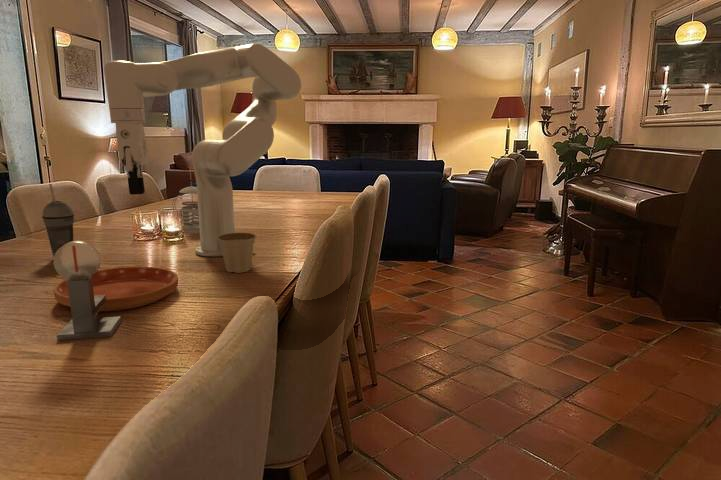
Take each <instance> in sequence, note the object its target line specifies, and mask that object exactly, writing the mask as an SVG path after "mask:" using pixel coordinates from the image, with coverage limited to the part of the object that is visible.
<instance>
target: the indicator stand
mask: <svg viewBox="0 0 721 480" xmlns="http://www.w3.org/2000/svg"><path fill="white" fill-rule="evenodd" d="M52 263H53V267H54V269H55V271H56V273H57V274H58V275H60V277H62V278H63V279H64V280H66V279H67V280H68V281H67V283H68V291H69V298H70V306H71V307H70V310H71V311H70V312H71V313H70V314H71V319H70V320H69V322H68V323H66V325H65V326H64V327H63V328H62V329H61V330H60V331H59V332H57V334H56V340H57V342H59V341H58V340H63V341H74V340H86V339H87V340H88V339H100V338H111V337H112V336H113V335H114V333H115V332H116V330H117V329H118V328H119V326H120V324H121V322H122V316H120V315H119V316H118V315H117V316H105V317H97V315H96V312H97V311H98V309H99V308H100V307H101V306H102V305H103V304H104V302H105V301H106V295H96V296H94V291H93V283H92V277H91V276H93V275H94V274H95V273H96V272H97V271H98V270H100V266H101V263H102V261H101V255H100V253H99V251H98V249H97V248H96V247H95V246H94V245H92V244H90V243H89V242H87V241H83V240H74V241H72V242H69V243H67V244H65V245H63V246H62V247H60V248H59V249H58V250H57V251H56V253H55V255H54V257H53V261H52Z"/></svg>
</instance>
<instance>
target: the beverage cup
mask: <svg viewBox="0 0 721 480" xmlns="http://www.w3.org/2000/svg"><path fill="white" fill-rule="evenodd" d="M48 185H49V189H50V193H51V197H52V201H50V202H48V203H46V204H45V206H44V208H43V210H42V216H41V217H42V219H43V220H42V221H43V223H44V226H45V228H46V232H47V237H48V241H49V246H50V249H51V254H52V256H53V258H54V255H55V253H56V251H57V250H58V249H59V248H60V247H62V246H63V245H65V244H67V243H69V242H72V241H75V240H74V223H75V214H74V211H73V209H72V207H71V206H70V205H69V204H68V203H67V202H65V201H62V200H56V197H55V193H54V189H53V185H52V183H49V184H48Z"/></svg>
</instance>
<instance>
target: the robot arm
mask: <svg viewBox="0 0 721 480" xmlns="http://www.w3.org/2000/svg"><path fill="white" fill-rule="evenodd" d="M103 71H104V78H105V86H106V94H107V101H108V102H107V103H108V108H109V109H108V111H109V117H110V124H115V135H116V145H117V152H118V153H117V155H118V160H119V163H120V165H121V166H123V167H125V169H126V170H125V171H126V176H127V183H128V193H129V195H143V194H145V193H146V191H145V181H144V177H143V175H144V174H143V166H144V165H146V164H148V163H149V162H150V159H149V152H148V147H147V139H146V134H145V129H144V124H146V123H147V121H146V112H145V103H144V98H148V97H149V98H150V97H161V96H167V95H170V94H172V93H173V92H174V91H175V92H176V91H180V90H185V89H186V90H187V89H202V88H208V87H212V86H214V87H215V86H217V85H221V84H226V83H230V82H235V81H238V80H239V81H240V80H243V79H248V78H249V79H250V78H253V81H252V87H251V89H252V101H251V103H250V105H249V106H247V108H246V109H244V110H243V111H241V112H240V114H238V115H236V117H235V118H233V119H232V120H230V121H229V122H227V124H226V125H225V127H224V128H223V130H222V134H221V137H222V139H217V138H215V139H213V138H211V139H210V138H209V139H204V140H201V141H199V142H198V143H197V144H196V145H195V146H194V148H193V149H192V153H191V159H192V161H191V163H192V168H193V172H194V173H193V174H194V178H195V182H196V187H197V201H198V211H199V220H198V221H199V226H200V232H199V238H200V239H199V240H200V245H199V246H197V247H196V248H195V249H194V250H195V251H194V252H195V254H196V255H198V256H201V257H209V258H210V257H213V258H214V257H215V258H216V257H223V253H222V248H221V245H220V244H219V240H218V239H217V237H218V236H220V235H223V234H228V233H236V232H235V214H234V213H235V211H234V191H233V185H232V181H231V178H230V177H237V176H239V175H241V174H243V173H245V172H246V171H248V169H249V168H250V167H252V166H253V165H254V164H255V163H256V162H257V161H258V160H260V159H261V158H262V157H263V156H264V155H265V154H266V153H267V152H268V151H269V150H270V148H272V145H273V143H274V138H275V132H274V129H273V126H274V125H275V123H276V121H277V120H276V119H277V101H279V100H281V101H282V100H290V99H291V100H292V99H294V98H296V97H297V96H298V95H299V94H300V92H301V88H302V81H301V77H300V76H299V73H297V71H296V70H295V69H294V68H293V67H292V66H291V65H289V64H288V63H287V62H285V60H283V59H282V57H280V56H278V55H277V54H276V53H274V52H273V51H272V50H270V49H269V48H268V47H266V46H265V45H263V44H260V43H255V42H254V43H253V42H252V43H249V44H242V45H237V46H232V47H225V48H220V49H213V50H208V51H202V52H198V53H193V54H189V55H186V56H182V57H179V58H175V59H171V60H167V61H166V60H165V61H160V62H145V63H144V62H142V63H141V62H140V63H139V62H138V63H137V62H136V63H135V62H133V61H127V60H110V61H107V62H105V63H104V66H103Z"/></svg>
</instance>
